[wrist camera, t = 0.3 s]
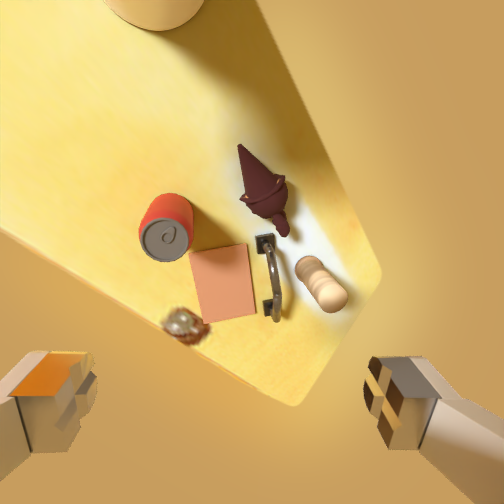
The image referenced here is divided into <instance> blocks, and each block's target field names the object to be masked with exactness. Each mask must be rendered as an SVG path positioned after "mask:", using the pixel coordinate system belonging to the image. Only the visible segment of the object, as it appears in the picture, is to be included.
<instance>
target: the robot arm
mask: <svg viewBox="0 0 504 504" xmlns="http://www.w3.org/2000/svg"><path fill="white" fill-rule="evenodd" d="M103 1H104V2H105V3H106V4H107V5H108V6H109V7H110V8H111V9H112V10H113V11H114V12H115V13H116V14H117V15H119V16H120V17H121V18H123V19H124V20H126V21H127V22H129V23H131V24H133V25H135V26H138V27H140V28H144V29H148V30H154V31H163V30H169V29H173V28H176V27H178V26H181V25H182V24H184V23H186V22H187V21H188V20H190V19H191V18H192V17H193V16H194V15H195V14H196V13H197V11H198V10H199V9H200V7H201V5H202V4H203V2H204V0H103ZM94 364H95V363H94V358H93V355H92V354H91V353H90V352H73V351H37V350H36V351H32V352H29V353H28V354H27V355H26V356H25V357H24V358H23V359H22V360H21V361H20V362H19V363H18V364H17V365H16V366H15V367H14V368H13V369H12V370H11V371H10V372H9V373H8V374H7V375H6V376H5V377H4V378H3V379H2V380H1V381H0V481H1V480H3V479H4V478H5V477H6V476H7V475H8V474H9V473H11V472H12V471H13V470H14V469H15V468H17V467H18V466H19V465H20V464H21V463H23V462H24V461H25V460H26V459H27V458H28V457H29V456H30V455H31V454H30V453H54V452H67V451H68V450H69V448H70V446H71V444H72V442H73V441H74V439H75V437H76V435H77V433H78V432H79V430H80V428H81V426H80V421H79V420H80V419H81V418H82V417H83V416H85V415H86V414H88V413H89V411H90V410H91V408H92V406H93V404H94V401H95V397H96V394H97V384H98V383H97V376H95V375H94V374H93V373H92V372H91V371H90V370H91V369H92V367H93V366H94ZM368 368H369V370H370V371H371V374H370V375H369V376H368V377H367V378H366V379H365V382H364V387H363V390H364V399H365V403H366V406H367V408H368V410H369V412H370V413H371V414H372V415H373V416H375V417H376V418H377V419H378V420H379V421H378V425H377V428H378V430H379V432H380V434H381V436H382V438H383V440H384V442H385V444H386V446H387V448H388V449H389V450H391V449H392V450H419V453H421V454H422V455H423V456H424V457H425V458H426V459H427V460H428V461H429V462H430V463H431V464H432V465H433V466H435V467H436V468H437V469H438V470H439V471H440V472H441V473H442V474H443V475H444V476H445V477H446V478H447V479H449V480H450V481H451V482H452V483H453V484H454V485H455V486H456V487H457V488H458V489H459V490H460V491H461V492H462V493H464V494H465V495H466V496H467V497H468V498H469V499H470V500H471V501H472V502H473V503H474V504H504V419H502V418H500V417H498V416H497V415H495V414H493V413H491V412H490V411H488V410H486V409H485V408H483V407H481V406H479V405H477V404H476V403H474V402H472V401H471V400H469V399H462V398H461V397H460V396H459V395H458V393H457V392H456V391H455V390H454V389H453V388H452V387H451V386H450V385H449V383H448V382H447V381H446V380H445V379H444V378H443V377H442V376H441V375H440V373H439V372H438V371H437V370H436V369H435V368H434V367H433V365H431V363H430V362H429V361H428V360H427V359H426V358H424V357H422V356H405V357H384V356H382V357H380V356H376V357H375V356H372V358H371V359H370V361H369V365H368Z"/></svg>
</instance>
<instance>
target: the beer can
mask: <svg viewBox="0 0 504 504" xmlns="http://www.w3.org/2000/svg"><path fill="white" fill-rule="evenodd" d="M193 234H194V222H193V210H192V207H191V205H190V203H189V202H188V201H187V200H186V199H185V198H184V197H182V196H180V195H178V194H173V193H167V194H162V195H160V196H158V197H157V198H155V199H154V201H153V202H152V203H151V205H150V207H149V208H148V210H147V212H146V214H145V216H144V218H143V219H142V221H141V224H140V227H139V239H140V243H141V246H142V249H143V250H144V252H145V253H146V254H147V255H148V256H149V257H151V258H152V259H154V260H157V261H160V262H171V261H175V260H177V259H179V258H180V257H182V256H183V255H184V254H185V253H186V251H187V250H188V249H189V248H190V246H191V244H192V241H193Z"/></svg>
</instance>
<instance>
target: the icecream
mask: <svg viewBox="0 0 504 504" xmlns="http://www.w3.org/2000/svg"><path fill="white" fill-rule="evenodd" d="M237 147H238V153H239V158H240V164H241V170H242V175H243V181H244V187H245V194H243V195H242V196H241V198H240V200H241V201H243V202H245V203H246V206H248V207H249V208H250V209H251V211H252V213H253V214H257V215H258V216H260V217H261V218H264V219H268V218H271V217H273V220H272V222H273V224H274V225H275V226H276V230H277V231H278V232H279V234H280V235H281V236H282V237H287V235H288V234H289V232H290V227H289V224H288V222H287V221H286V219H287V218H286V214H285V212H284V211H283V209H284V207H285V204H286V201H287V198H288V189H287V186H286V183H285V182H284V181H285V176H284V175H278V174H272V173H271V172H270V171H269V170H268V169H267V168H266V167H265V166H264V165H263V164H262V163H261V162H260V161H259V160H258V159H257V158H255V157H254V156H253V155H252V154H251V153H250V152H249V151H248V150H247V149H246V148H245V147H244V146H243V145H242V144H239V145H238V146H237Z"/></svg>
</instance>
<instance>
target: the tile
mask: <svg viewBox="0 0 504 504" xmlns="http://www.w3.org/2000/svg"><path fill="white" fill-rule="evenodd" d="M189 259H190V263H191V268H192V272H193V277H194V281H195V286H196V290H197V295H198V299H199V304H200V308H201V313H202V317H203V322H204V324H207V323H212V322H216V321H221V320H226V319H231V318H236V317H241V316H245V315H250V314H255V307H254V299H253V291H252V284H251V276H250V268H249V261H248V253H247V245H246V243H244V244H239V245H233V246H227V247H222V248H216V249H210V250H205V251H199V252H193V253H189Z"/></svg>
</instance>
